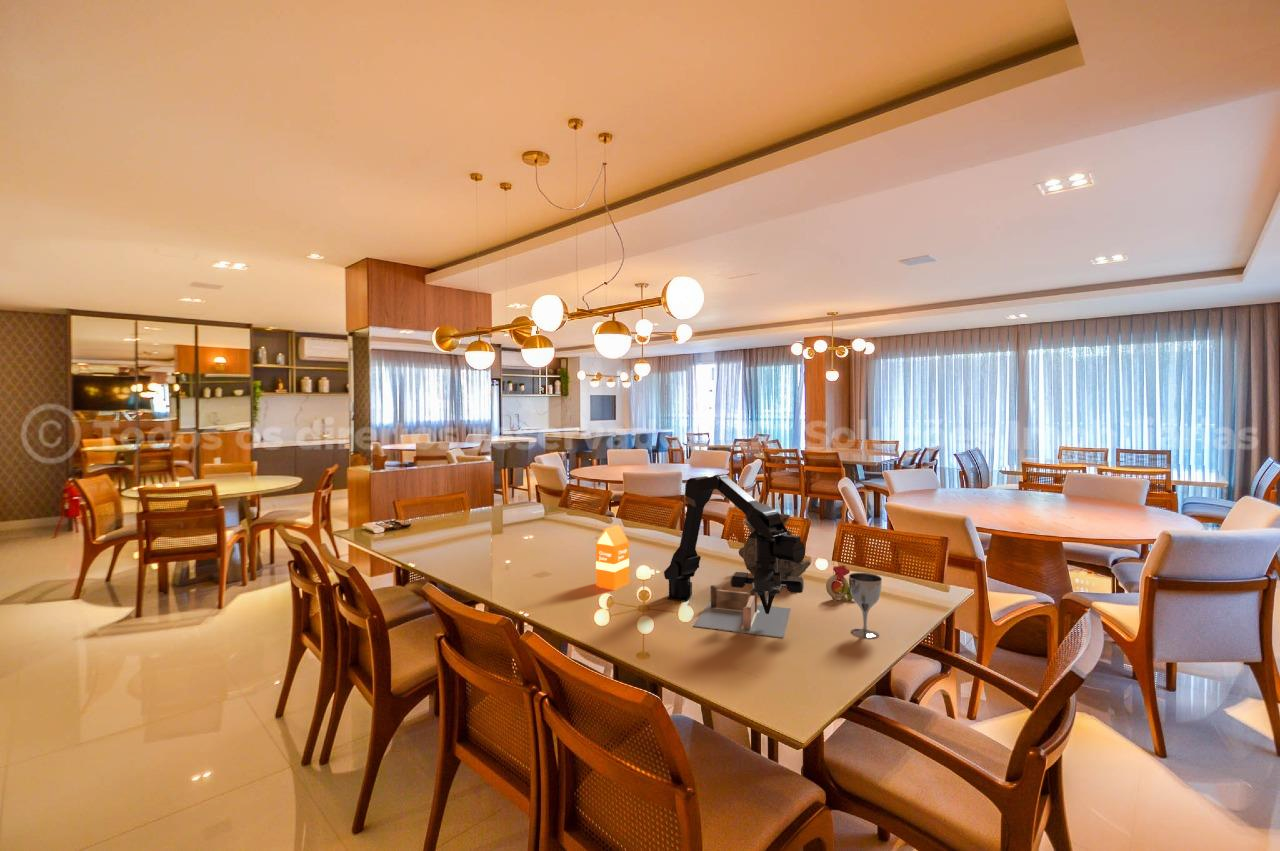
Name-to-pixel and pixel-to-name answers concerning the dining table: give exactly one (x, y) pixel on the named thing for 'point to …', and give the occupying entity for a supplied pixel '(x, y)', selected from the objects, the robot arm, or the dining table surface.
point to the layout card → (733, 620)
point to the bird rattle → (835, 587)
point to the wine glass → (865, 599)
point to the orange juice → (612, 558)
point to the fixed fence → (730, 599)
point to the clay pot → (783, 566)
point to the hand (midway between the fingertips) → (767, 613)
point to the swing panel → (749, 613)
